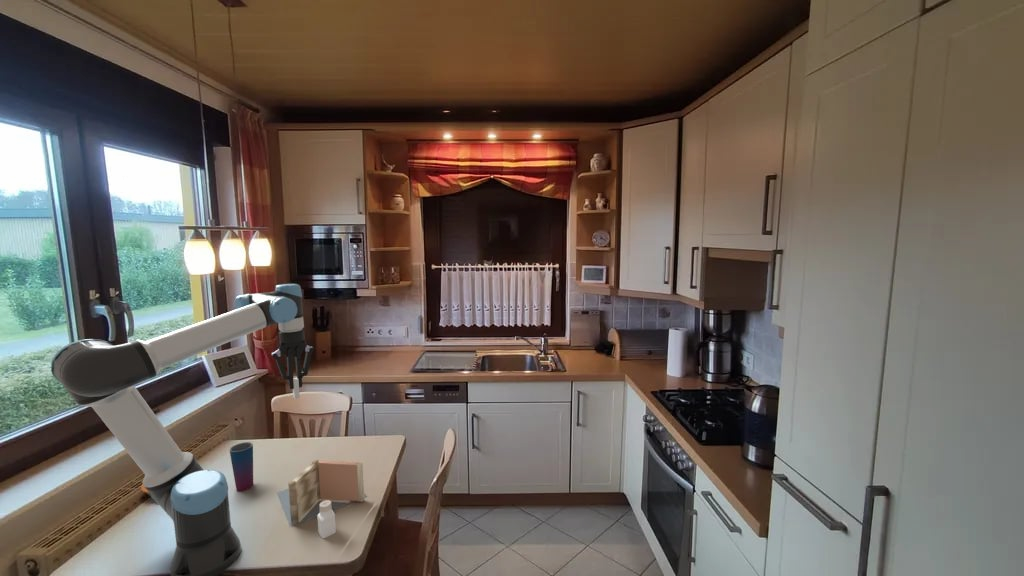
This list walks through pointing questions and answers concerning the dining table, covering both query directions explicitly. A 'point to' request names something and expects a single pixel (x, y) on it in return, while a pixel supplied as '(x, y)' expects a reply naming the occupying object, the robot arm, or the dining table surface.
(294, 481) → the fixed fence section
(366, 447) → the dining table surface
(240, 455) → the cup
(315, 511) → the card
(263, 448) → the dining table surface
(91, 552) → the dining table surface
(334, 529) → the salt shaker
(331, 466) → the pink wooden flat board
